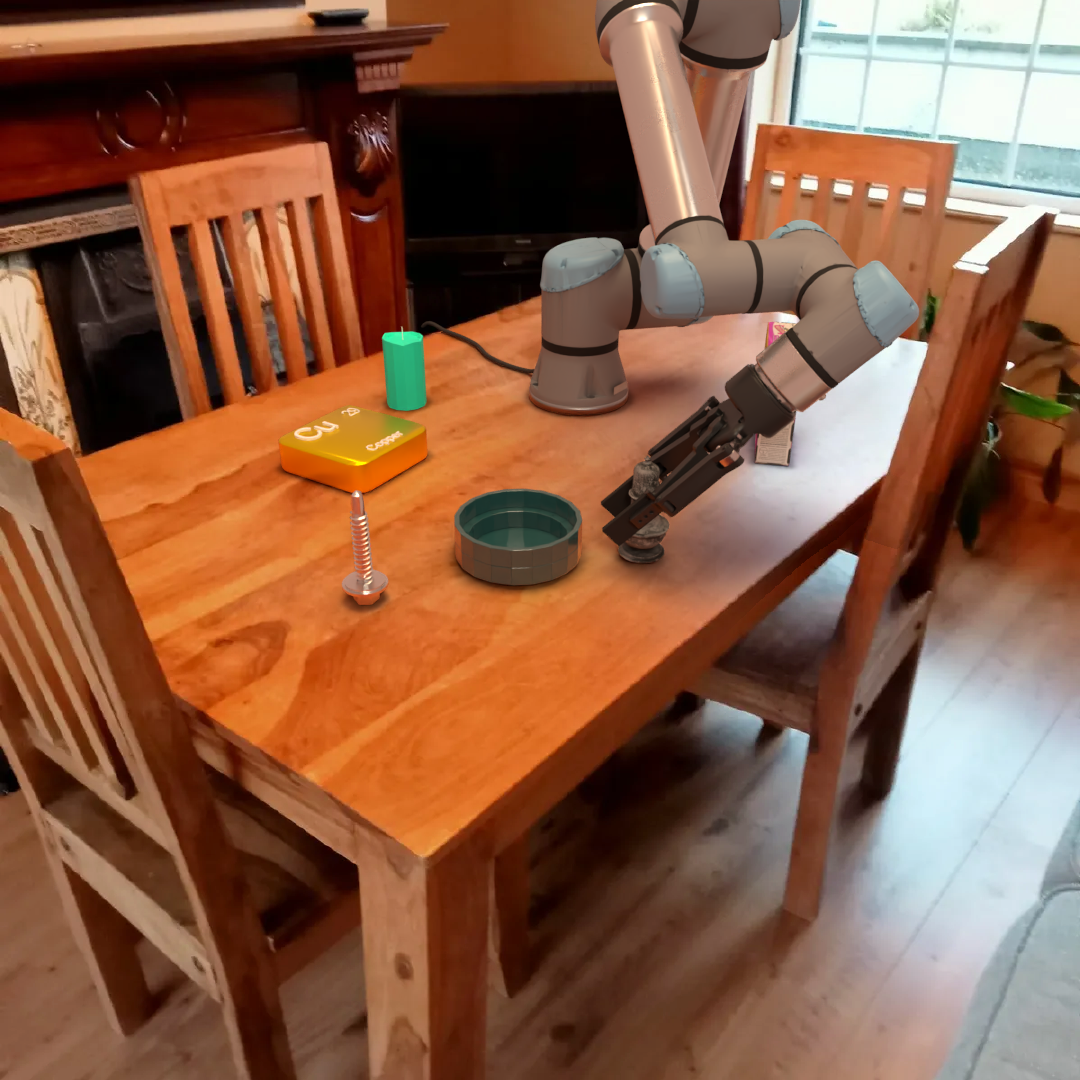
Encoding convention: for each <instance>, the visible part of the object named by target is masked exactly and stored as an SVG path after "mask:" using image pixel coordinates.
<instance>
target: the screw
mask: <svg viewBox="0 0 1080 1080" xmlns="http://www.w3.org/2000/svg"><path fill="white" fill-rule="evenodd" d="M350 507H351V510H350V511H349V513H350V514H351V515H350V516H349V519H350V520H351V521H349V524H350V525H351V526H350V530H351V532H350V535H352V536H351V540H352V543H351V544H352V550H353V552H352V554H353V555H354V556H353V559H354V561H353V564H354V565H355V566H354V569H355V571H352V572H351V573H349V574H347V575H346V576H345V577H344V578H343V579H342V581H341V588H342V591H343V592H344V593H345V594H347V595H349V596H352V598H353V600H354V601H355V602H356V603H357V604H358V605H359V606H366V605H367V606H369V605H371V606H372V605H373V604H375V603H376V602H377V601H378V600H379V599H381V595H380V594H381V593H383V592H384V591H385V590H386V589H387V588H388V587H389V578H388V576H387V575H386V574H385V573H383V572H381V571H380V570H376V569H374V567H373V561H372V560H373V557H372V547H371V537H370V535H371V533H370V532H369V531H370V527H369V526H370V522H368V521H369V516H368V512H367V511H366V509H365V500H364V495H363V493H362V492H361V491H358V490H356V491H354V492H353V493H351V497H350Z"/></svg>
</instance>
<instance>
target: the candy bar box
mask: <svg viewBox="0 0 1080 1080" xmlns="http://www.w3.org/2000/svg"><path fill="white" fill-rule="evenodd" d="M797 323H798V322H796V323H795V322H786V321H785V322H784V321H781V322H780V321H768V322H767V325H766V334H765V341H764V347H763V350H764V349H765V348H767V347H768V346H769V345H770V344H771V343H773V342H774V341H775V340H776V339H777V338H779V337H780V336H781V335H782V334H783V333H785V332H787V331H788V330H789V329H790V328H792V327H793V326H794V325H796V324H797ZM794 413H795V417H794V420H793V421H792V422H791V423H790V424H788V425H787V426H786V427H785V428H783V429H782V430H781V431H780V432H778V433H777V434H776V435H775V436H773V437H772V438H765V437H763V436H762V435H761V434H754V435H755V436H754V438H755V439H754V463H755V464H761V465H772V466H786V467H788V466H790V463H791V454H792V446H793V440H794V434H795V433H794V432H795V425H796V418H797V417H796V416H797V411H794Z"/></svg>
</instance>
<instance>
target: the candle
mask: <svg viewBox="0 0 1080 1080" xmlns="http://www.w3.org/2000/svg"><path fill="white" fill-rule="evenodd" d="M400 327H401V331H391V332H384V334H383V335H382V337H381V340H382V341H381V342H382V343H381V344H382V354H383V355H382V356H383V367H384V382H385V395H386V403H387V404H386V405H387V406H388V408H390V409H392V410H396V411H403V412H404V411H405V412H407V411H414V410H415V411H416V410H419V409H422V408H423V407H425V406H426V404H427V401H428V400H427V399H428V398H427V385H426V384H427V381H426V380H427V379H426V363H425V347H424V335H423V334H422V333H420V332H416V331H404V328H403V326H400Z"/></svg>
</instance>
